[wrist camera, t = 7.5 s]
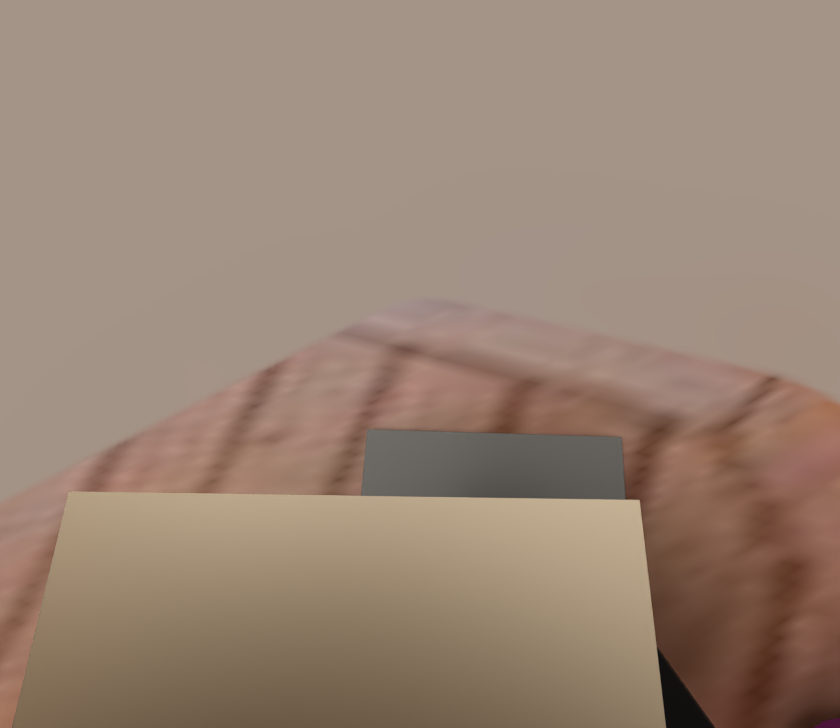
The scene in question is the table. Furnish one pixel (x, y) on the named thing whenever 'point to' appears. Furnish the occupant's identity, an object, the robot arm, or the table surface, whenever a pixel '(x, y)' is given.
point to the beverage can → (829, 724)
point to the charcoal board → (492, 465)
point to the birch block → (344, 614)
